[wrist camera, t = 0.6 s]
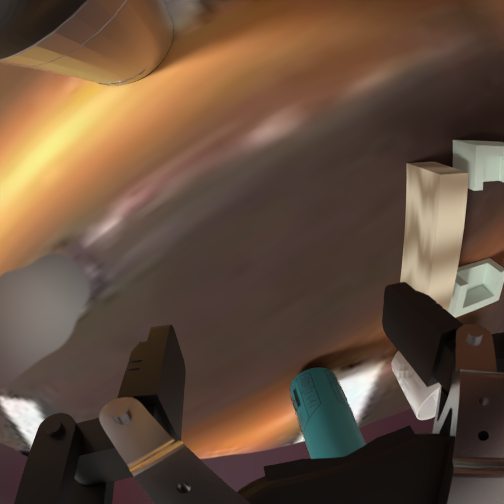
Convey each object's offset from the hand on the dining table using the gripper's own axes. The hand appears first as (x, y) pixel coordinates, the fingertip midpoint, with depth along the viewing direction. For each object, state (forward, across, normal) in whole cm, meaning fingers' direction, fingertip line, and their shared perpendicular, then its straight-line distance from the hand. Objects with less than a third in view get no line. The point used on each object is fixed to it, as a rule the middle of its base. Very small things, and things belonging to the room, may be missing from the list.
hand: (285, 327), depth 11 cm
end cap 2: (+21, -30, +14) cm, 39 cm away
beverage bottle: (+22, -6, +24) cm, 33 cm away
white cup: (+22, -22, +26) cm, 40 cm away
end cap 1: (+19, -30, -3) cm, 36 cm away
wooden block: (+20, -20, +6) cm, 29 cm away
